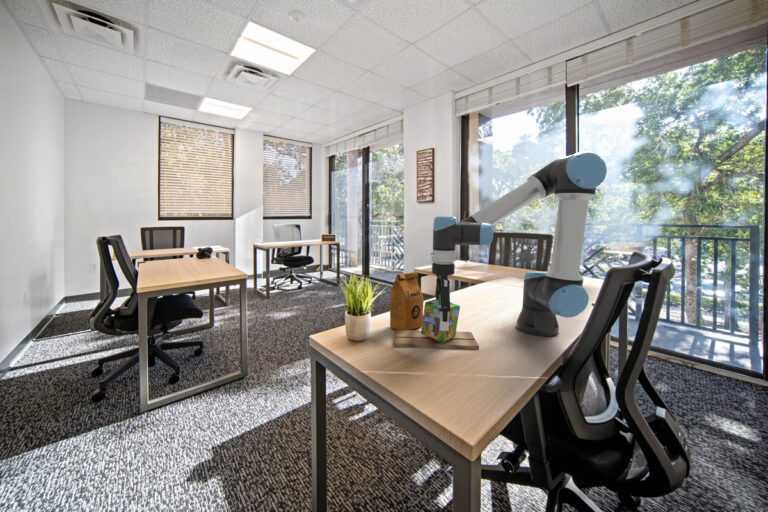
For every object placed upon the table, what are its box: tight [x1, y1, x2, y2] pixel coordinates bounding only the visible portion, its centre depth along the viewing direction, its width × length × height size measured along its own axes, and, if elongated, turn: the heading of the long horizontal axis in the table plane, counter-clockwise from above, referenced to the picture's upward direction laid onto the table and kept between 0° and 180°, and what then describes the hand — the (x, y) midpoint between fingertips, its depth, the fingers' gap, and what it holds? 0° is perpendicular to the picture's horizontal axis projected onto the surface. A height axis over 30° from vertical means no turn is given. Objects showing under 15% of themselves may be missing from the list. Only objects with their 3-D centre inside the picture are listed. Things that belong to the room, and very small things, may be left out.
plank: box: [394, 329, 476, 340], centre depth 114 cm, size 28×6×1 cm, turn 87°
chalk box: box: [420, 294, 461, 343], centre depth 109 cm, size 9×9×15 cm
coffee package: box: [389, 271, 425, 330], centre depth 123 cm, size 10×12×22 cm
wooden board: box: [393, 337, 480, 351], centre depth 112 cm, size 28×12×2 cm, turn 87°
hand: (441, 323), depth 110 cm, fingers open, 13 cm apart
